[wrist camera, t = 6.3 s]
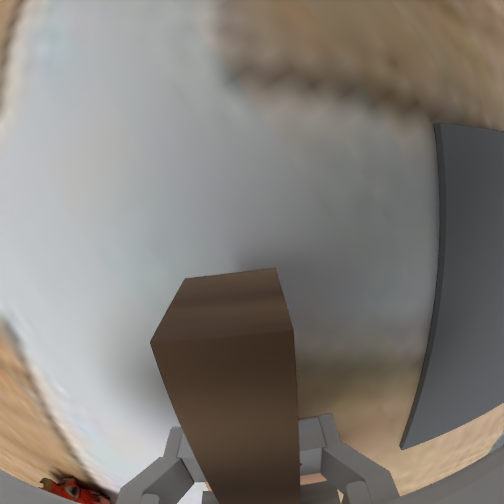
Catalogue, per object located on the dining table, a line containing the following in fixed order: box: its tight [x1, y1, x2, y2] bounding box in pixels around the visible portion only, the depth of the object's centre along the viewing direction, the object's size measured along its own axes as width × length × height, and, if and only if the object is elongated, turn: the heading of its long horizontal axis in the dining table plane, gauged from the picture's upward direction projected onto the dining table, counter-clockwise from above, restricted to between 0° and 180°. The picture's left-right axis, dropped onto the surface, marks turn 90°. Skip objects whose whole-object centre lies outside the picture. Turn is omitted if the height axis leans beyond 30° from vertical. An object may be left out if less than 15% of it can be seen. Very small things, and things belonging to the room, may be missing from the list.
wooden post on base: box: [150, 268, 341, 504], centre depth 8 cm, size 15×8×8 cm, turn 7°
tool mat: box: [399, 123, 504, 450], centre depth 15 cm, size 24×14×1 cm, turn 7°
